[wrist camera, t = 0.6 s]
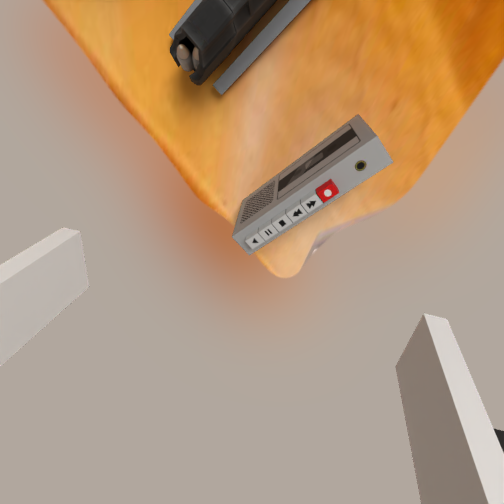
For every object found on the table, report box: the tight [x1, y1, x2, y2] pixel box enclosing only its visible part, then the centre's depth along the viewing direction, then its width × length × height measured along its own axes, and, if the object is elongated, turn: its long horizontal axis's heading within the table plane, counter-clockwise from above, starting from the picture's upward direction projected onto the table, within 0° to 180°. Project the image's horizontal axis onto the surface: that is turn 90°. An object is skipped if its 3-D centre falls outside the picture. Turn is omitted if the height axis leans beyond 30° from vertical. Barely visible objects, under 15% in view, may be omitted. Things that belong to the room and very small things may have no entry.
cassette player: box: [232, 114, 393, 255], centre depth 33 cm, size 16×3×10 cm, turn 130°
